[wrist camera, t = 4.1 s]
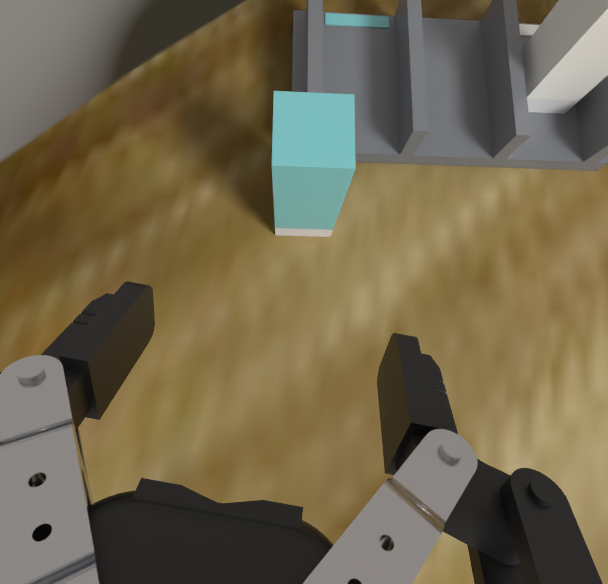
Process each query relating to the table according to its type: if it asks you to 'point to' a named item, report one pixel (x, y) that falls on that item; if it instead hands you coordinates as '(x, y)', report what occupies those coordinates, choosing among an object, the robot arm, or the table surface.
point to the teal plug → (311, 160)
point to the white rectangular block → (566, 55)
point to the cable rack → (443, 89)
